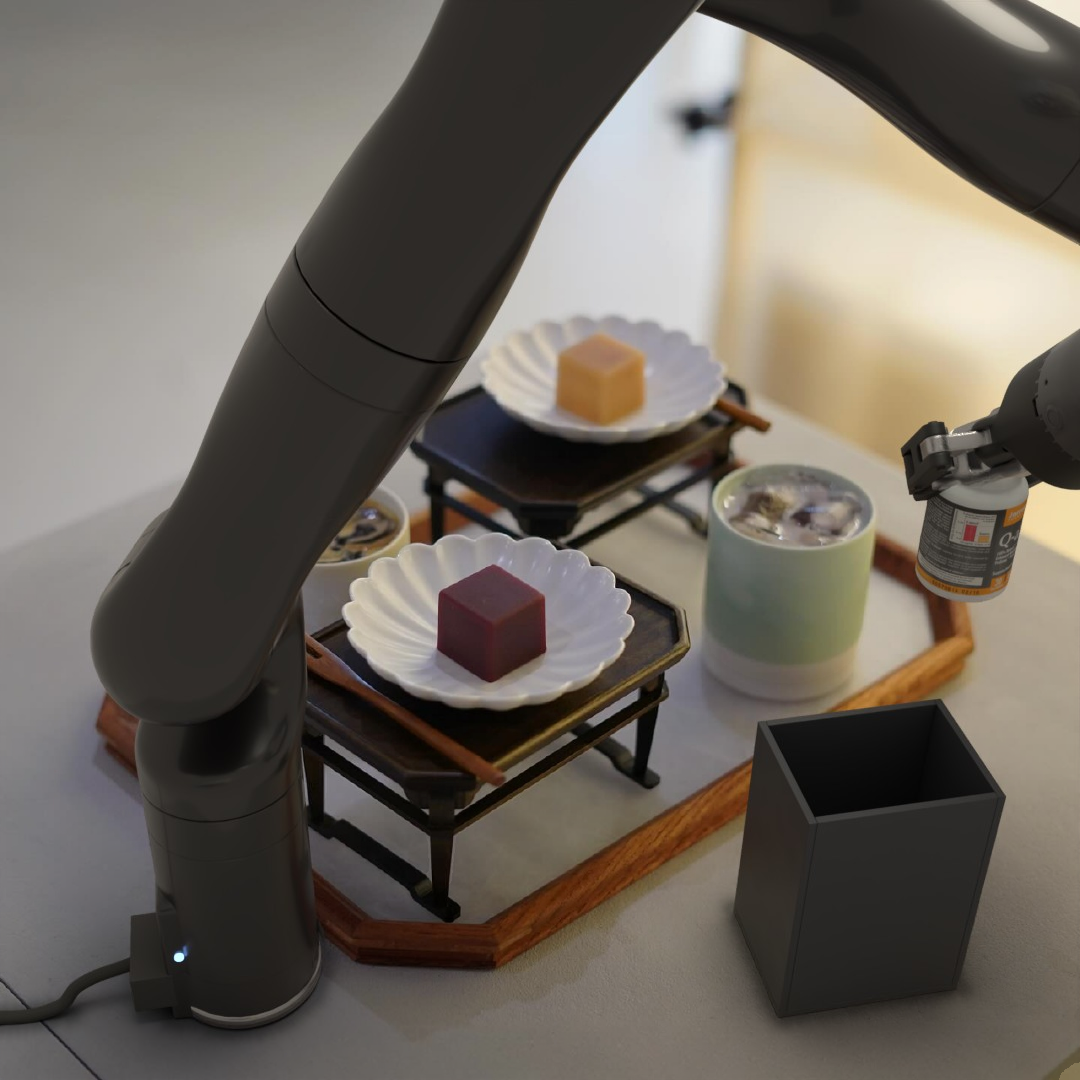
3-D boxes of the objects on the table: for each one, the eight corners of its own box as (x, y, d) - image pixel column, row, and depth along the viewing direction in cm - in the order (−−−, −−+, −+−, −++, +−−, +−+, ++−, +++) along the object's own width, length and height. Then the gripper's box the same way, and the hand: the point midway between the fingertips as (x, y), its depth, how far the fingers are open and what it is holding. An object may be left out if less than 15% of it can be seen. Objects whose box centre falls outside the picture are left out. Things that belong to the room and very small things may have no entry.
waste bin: (778, 1018, 94) (809, 824, 85) (733, 910, 101) (757, 721, 92) (957, 988, 96) (1006, 796, 87) (901, 885, 104) (940, 697, 95)
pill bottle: (1009, 612, 92) (1043, 471, 86) (913, 600, 93) (940, 459, 87) (1004, 561, 97) (1036, 424, 91) (912, 549, 97) (938, 413, 92)
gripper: (1221, 317, 79) (1059, 412, 95) (964, 337, 76) (843, 431, 92) (1253, 457, 77) (1083, 529, 93) (992, 482, 74) (864, 551, 91)
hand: (964, 480), depth 93 cm, fingers closed on pill bottle, 5 cm apart
